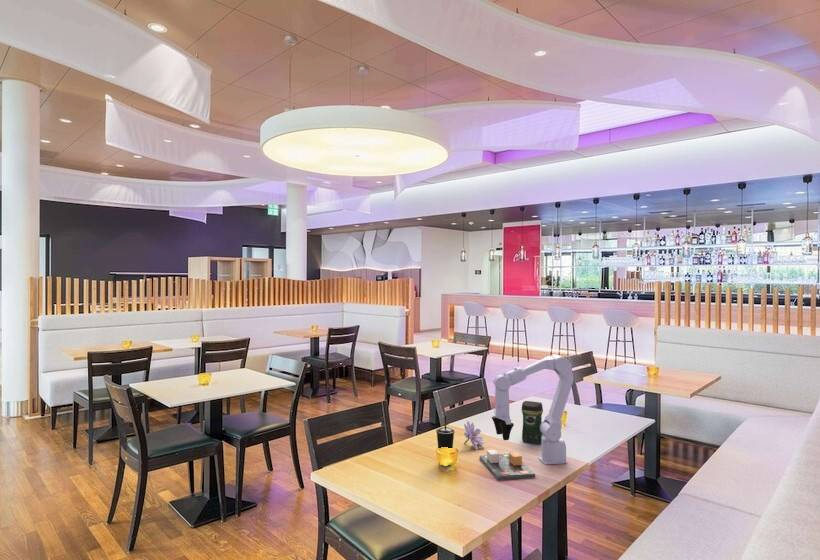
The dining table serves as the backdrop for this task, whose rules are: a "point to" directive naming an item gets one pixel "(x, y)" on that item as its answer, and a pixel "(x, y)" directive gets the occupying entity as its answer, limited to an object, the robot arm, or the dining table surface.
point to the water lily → (473, 435)
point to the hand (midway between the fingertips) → (502, 437)
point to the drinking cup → (445, 436)
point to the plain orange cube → (515, 458)
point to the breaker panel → (507, 468)
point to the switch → (493, 456)
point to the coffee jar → (532, 421)
